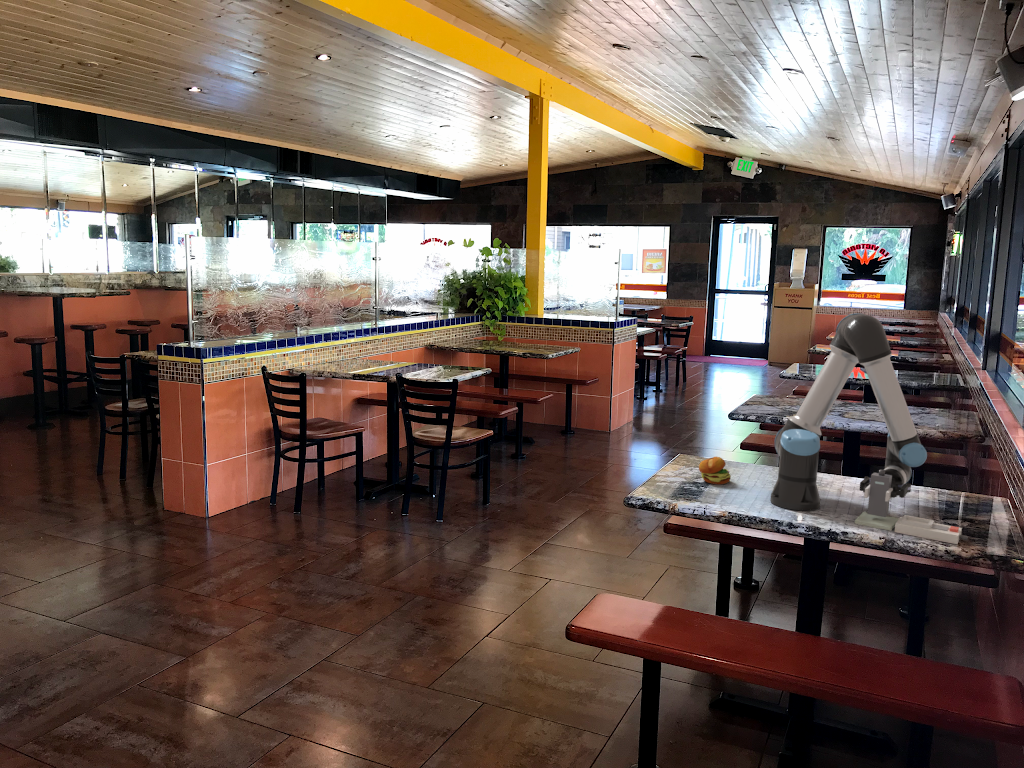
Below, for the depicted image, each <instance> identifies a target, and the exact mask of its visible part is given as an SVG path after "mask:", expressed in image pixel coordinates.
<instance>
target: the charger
mask: <svg viewBox="0 0 1024 768" xmlns="http://www.w3.org/2000/svg"><path fill="white" fill-rule="evenodd" d="M870 478H871V482H870V494H869V496H868V504H867V505H868V506H867V512H868V514H870V515H876V516H881V517H886V516H889V509H890V502H891V501H890V500H891V499H890V500H889V501H888V502H887V501H885V497H886V492H887V491H888V490H889V489H890V488H891V480H892V475H887V474H885V470H884V469H879V470H878V472H873V473H871V475H870Z"/></svg>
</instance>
